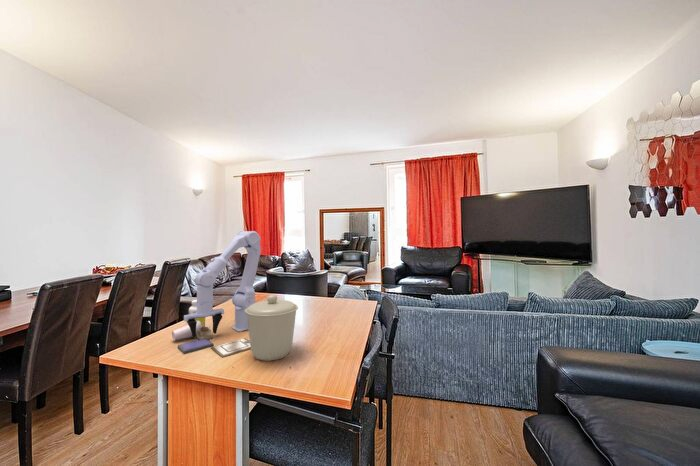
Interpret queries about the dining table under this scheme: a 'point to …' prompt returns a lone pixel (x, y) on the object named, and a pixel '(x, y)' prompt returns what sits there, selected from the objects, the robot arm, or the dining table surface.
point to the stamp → (204, 333)
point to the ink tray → (195, 345)
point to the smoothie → (185, 331)
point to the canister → (271, 327)
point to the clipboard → (232, 347)
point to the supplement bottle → (193, 310)
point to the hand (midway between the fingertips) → (204, 335)
